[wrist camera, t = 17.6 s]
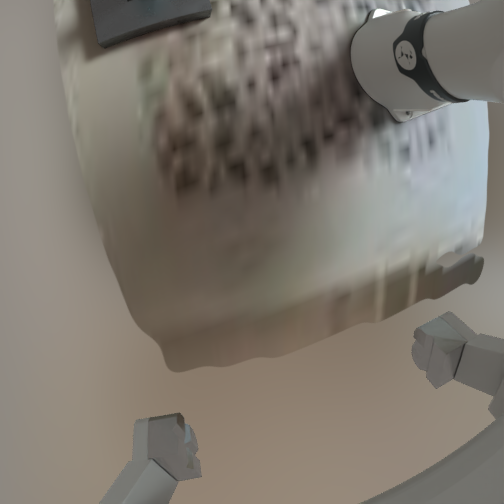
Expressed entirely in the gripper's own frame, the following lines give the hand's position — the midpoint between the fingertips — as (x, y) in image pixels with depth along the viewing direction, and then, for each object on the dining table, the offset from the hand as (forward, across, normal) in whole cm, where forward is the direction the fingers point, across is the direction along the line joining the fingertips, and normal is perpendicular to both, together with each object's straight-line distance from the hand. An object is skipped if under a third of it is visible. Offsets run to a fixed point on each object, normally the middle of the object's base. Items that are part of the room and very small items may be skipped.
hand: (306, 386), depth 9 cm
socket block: (+34, +2, -29) cm, 45 cm away
